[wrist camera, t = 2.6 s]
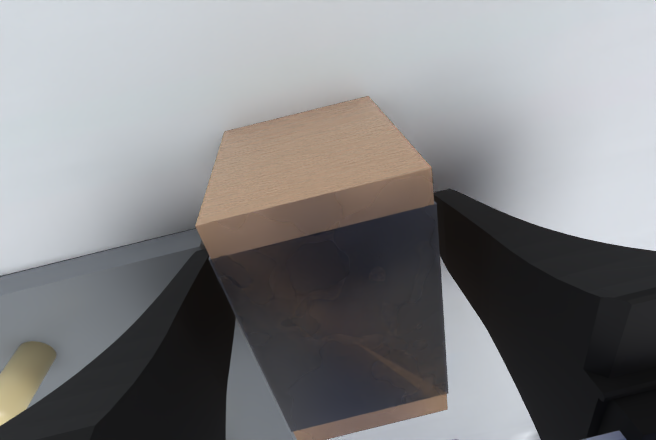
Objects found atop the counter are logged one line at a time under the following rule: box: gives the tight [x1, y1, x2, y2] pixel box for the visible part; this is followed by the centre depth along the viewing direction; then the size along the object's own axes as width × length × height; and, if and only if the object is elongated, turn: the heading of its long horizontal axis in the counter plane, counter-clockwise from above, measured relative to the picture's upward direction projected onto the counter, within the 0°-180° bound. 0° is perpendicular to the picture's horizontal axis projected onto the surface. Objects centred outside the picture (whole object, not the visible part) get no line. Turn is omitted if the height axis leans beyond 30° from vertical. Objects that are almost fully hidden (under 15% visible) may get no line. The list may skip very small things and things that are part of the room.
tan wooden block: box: [195, 96, 448, 440], centre depth 12 cm, size 8×5×6 cm, turn 12°
